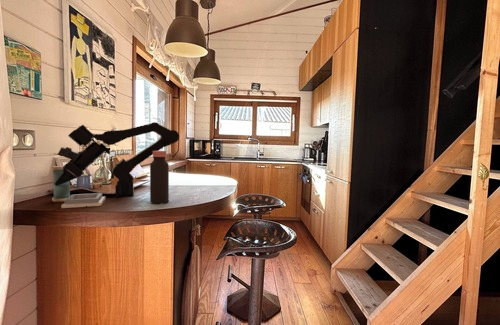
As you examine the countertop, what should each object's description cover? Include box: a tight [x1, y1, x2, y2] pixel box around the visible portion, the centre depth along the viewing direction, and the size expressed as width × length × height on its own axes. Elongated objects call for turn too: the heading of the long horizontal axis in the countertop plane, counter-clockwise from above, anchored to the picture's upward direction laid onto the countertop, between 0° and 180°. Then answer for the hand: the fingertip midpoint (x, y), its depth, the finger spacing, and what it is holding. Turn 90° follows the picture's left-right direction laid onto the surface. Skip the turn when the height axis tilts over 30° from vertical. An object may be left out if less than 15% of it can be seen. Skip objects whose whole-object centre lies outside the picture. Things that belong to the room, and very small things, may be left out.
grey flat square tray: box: [61, 192, 106, 209], centre depth 95 cm, size 12×12×2 cm
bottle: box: [149, 150, 170, 205], centre depth 99 cm, size 7×7×20 cm
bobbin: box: [50, 165, 71, 203], centre depth 99 cm, size 6×6×13 cm
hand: (57, 183), depth 98 cm, fingers open, 8 cm apart
